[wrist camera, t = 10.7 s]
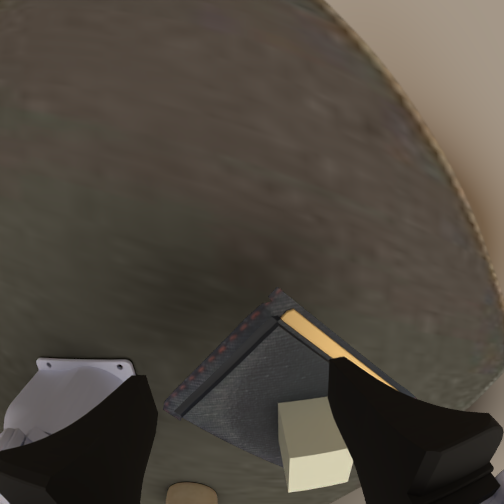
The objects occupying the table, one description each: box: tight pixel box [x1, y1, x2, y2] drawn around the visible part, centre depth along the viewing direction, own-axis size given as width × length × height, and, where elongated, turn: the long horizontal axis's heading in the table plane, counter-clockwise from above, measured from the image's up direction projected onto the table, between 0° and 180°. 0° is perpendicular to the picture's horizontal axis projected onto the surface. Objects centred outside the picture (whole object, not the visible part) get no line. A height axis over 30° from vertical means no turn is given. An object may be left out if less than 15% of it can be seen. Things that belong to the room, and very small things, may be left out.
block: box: [278, 396, 353, 492], centre depth 20 cm, size 4×4×6 cm
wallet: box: [163, 287, 417, 468], centre depth 24 cm, size 20×2×15 cm
